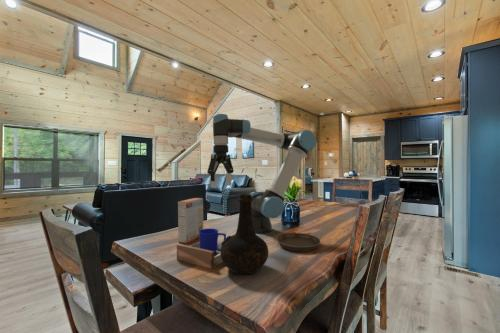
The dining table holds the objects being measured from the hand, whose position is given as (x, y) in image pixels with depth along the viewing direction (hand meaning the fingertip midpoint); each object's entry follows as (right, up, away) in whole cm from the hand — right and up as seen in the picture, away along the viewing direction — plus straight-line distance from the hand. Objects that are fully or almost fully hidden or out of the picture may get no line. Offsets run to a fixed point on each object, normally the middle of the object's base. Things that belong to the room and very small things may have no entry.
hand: (221, 186), depth 122 cm
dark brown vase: (+12, -28, -33) cm, 45 cm away
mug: (-2, -28, -18) cm, 33 cm away
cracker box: (-16, -28, +3) cm, 33 cm away
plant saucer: (+38, -28, -6) cm, 48 cm away
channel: (-4, -28, -21) cm, 35 cm away
